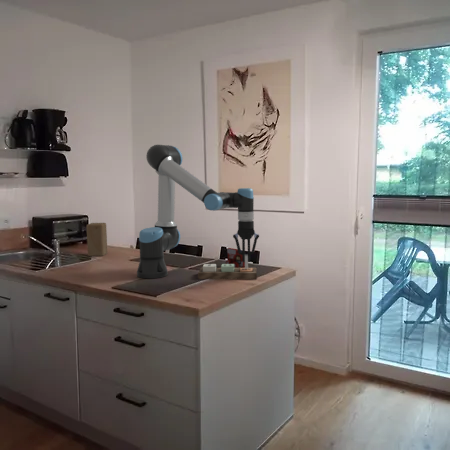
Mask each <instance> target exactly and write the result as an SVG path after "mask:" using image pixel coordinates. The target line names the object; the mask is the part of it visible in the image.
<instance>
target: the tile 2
mask: <svg viewBox="0 0 450 450" xmlns="http://www.w3.org/2000/svg"><path fill="white" fill-rule="evenodd" d="M220 268H221V272H234V264H225V263H222V264H221V265H220Z"/></svg>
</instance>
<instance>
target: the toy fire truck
mask: <svg viewBox="0 0 450 450" xmlns="http://www.w3.org/2000/svg"><path fill="white" fill-rule="evenodd" d="M226 252H227V260H226V261H225V263H224V264H234V268H245V262H243V261H242V255H241V254H239V253H238V249H237V248H234V247H233V248H232V247H228V248H227V249H226Z"/></svg>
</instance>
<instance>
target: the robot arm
mask: <svg viewBox="0 0 450 450" xmlns="http://www.w3.org/2000/svg"><path fill="white" fill-rule="evenodd" d="M146 161H147V164H148V165H149V166H150V167H151V168H153V169H154V170H155V173H156V174H157V175H158V185H157V186H158V187H157V189H158V190H157V191H158V192H157V221H156V222H155V223H154V226H153V227H145V228H143V229H141V230H140V231H139V232H138V233H139V236H138V241H139V243H138V244H139V263H138V267H137V271H136V276H137V277H138V278H139V279H140V278H141V279H157V278H163V277H166V276H168V275H169V273H168V272H169V271H168V267H167V265H166V261H165V259H164V258H165V257H164V252H166V251H169V250H172V249H174V248H175V247H177V246H178V245H179V243H180V241H181V232H180V231H179V229H178V225H177V222H175V203H176V201H175V199H176V184H177V185H179V186H180V187H181V188H182V189H184V190H186V191H187V192H189V193H190V194H191V195H193V197H195V198H197V200H199V201H201V202H202V203H203V204H204V206H205V209H207V210H209V211H215V212H216V211H218V210H223V209H237V219H238V222H237V226H238V227H237V228H238V229H237V231H236V233H234V234H232V238H233V240H234V242H235V245H236V249H238V253H239V254H241V255H242V261H243V262H245V267H244V268H245V269H248V268H249V263H250V262H251V255H254V253H255V250H256V247H257V242H258V241H257V240H258V239H259V238H260V234H259V233H256V231H255V229H254V227H255V226H254V225H255V223H254V218H255V217H254V215H255V213H254V206H255V205H254V199H255V198H254V197H255V196H254V190H253V189H252V188H251V187H250V188H249V187H248V188H247V187H246V188H245V187H244V188H243V187H239V188H237V191H236V192H224V191H223V192H222V191H221V192H217V191H215V190H214V189H212V188H211V187H210V186H209V185H207V183H205V182H203V181H202V180H200V179H199V178H198V177H196V176H195V175H194V174H192V173H191V172H190V171H188V170H187V169H185V167H182V166H181V165H182V163H183V154H182V151H181V150H180V149H179V148H177V146H173V145H169V144H168V145H167V144H154V145H152V146H150V148H148V150H147V152H146ZM253 236H254V238H253ZM239 237H240V239H241V242H242V243H241V246H240V241H239ZM252 238H253V239H254V240H253V243H252V248H251V239H252ZM246 241H247V254H246Z"/></svg>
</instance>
